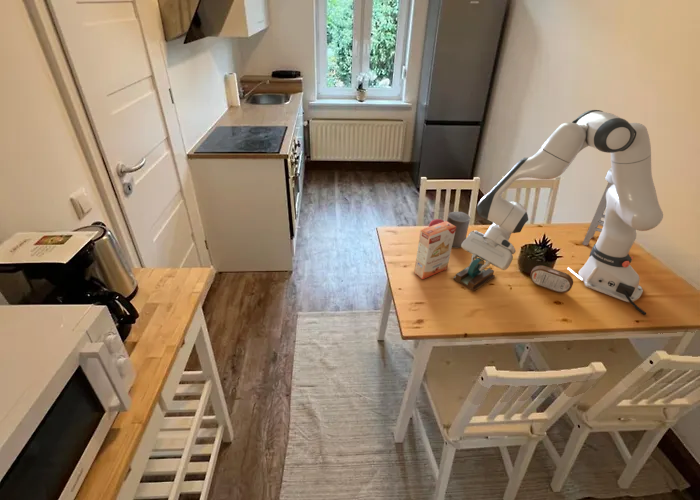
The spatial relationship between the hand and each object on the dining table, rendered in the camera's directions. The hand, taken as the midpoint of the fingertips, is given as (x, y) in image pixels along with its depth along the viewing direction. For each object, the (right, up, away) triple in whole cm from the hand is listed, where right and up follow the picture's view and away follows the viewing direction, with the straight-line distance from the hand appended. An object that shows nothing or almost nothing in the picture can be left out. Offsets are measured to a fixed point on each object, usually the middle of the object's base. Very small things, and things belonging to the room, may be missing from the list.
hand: (475, 268), depth 152 cm
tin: (+28, -8, -1) cm, 29 cm away
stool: (+67, +10, +28) cm, 73 cm away
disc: (0, -3, +3) cm, 4 cm away
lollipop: (-12, +7, +21) cm, 25 cm away
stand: (0, -4, +3) cm, 5 cm away
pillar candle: (-1, +11, +26) cm, 28 cm away
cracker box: (-16, -2, +7) cm, 18 cm away
